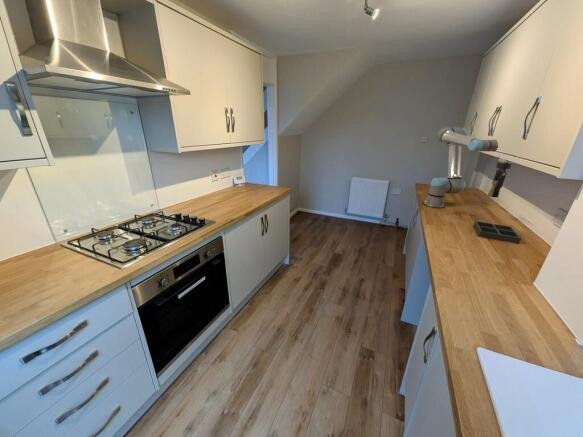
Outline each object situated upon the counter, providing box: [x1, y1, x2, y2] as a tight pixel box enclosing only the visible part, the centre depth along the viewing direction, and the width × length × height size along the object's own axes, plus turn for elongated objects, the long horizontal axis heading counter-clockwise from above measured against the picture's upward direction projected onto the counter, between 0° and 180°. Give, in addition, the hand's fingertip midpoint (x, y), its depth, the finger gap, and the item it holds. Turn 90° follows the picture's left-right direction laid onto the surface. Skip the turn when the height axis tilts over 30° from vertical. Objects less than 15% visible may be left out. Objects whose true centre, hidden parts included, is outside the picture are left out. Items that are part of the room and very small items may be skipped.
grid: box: [473, 220, 522, 245], centre depth 151 cm, size 19×19×4 cm
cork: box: [487, 180, 501, 198], centre depth 163 cm, size 6×6×11 cm
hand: (493, 195), depth 165 cm, fingers closed on cork, 6 cm apart
